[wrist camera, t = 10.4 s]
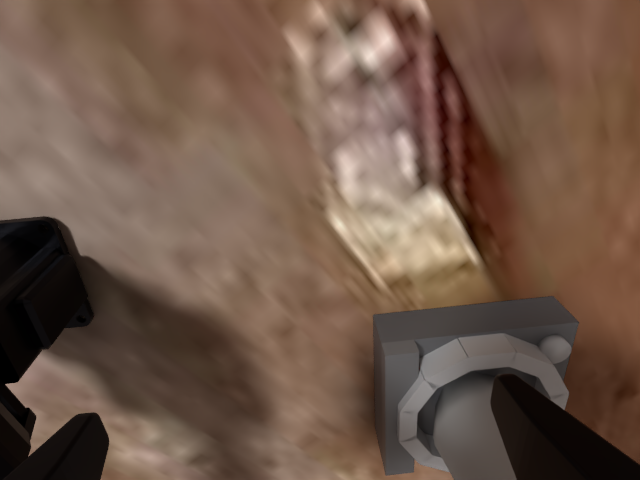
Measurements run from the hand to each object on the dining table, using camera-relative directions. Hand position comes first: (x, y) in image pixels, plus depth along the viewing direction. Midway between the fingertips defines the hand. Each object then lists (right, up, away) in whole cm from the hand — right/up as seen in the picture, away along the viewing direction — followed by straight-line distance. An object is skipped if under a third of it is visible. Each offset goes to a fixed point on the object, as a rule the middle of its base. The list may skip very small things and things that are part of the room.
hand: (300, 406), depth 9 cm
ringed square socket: (+10, -5, +18) cm, 21 cm away
